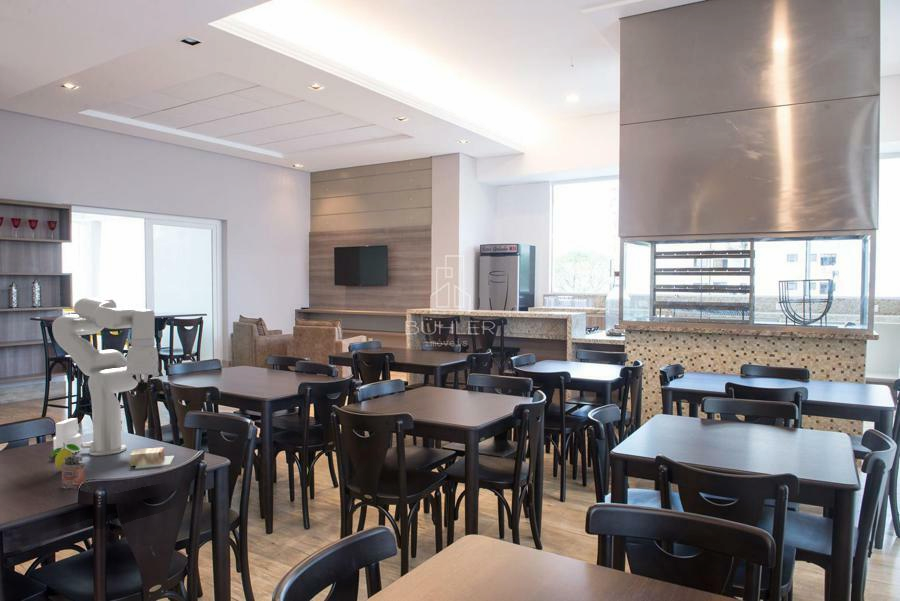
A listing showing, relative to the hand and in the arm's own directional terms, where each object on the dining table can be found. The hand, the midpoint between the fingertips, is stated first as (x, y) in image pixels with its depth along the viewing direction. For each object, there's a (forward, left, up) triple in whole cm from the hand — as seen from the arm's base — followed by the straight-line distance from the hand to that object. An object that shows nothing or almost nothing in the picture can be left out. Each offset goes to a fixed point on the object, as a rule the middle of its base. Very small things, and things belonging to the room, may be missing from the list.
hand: (142, 392), depth 220 cm
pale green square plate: (+5, -7, -25) cm, 26 cm away
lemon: (-24, -7, -25) cm, 35 cm away
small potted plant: (-16, -27, -25) cm, 40 cm away
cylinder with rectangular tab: (-31, +20, -25) cm, 44 cm away
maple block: (-3, -7, -22) cm, 23 cm away
